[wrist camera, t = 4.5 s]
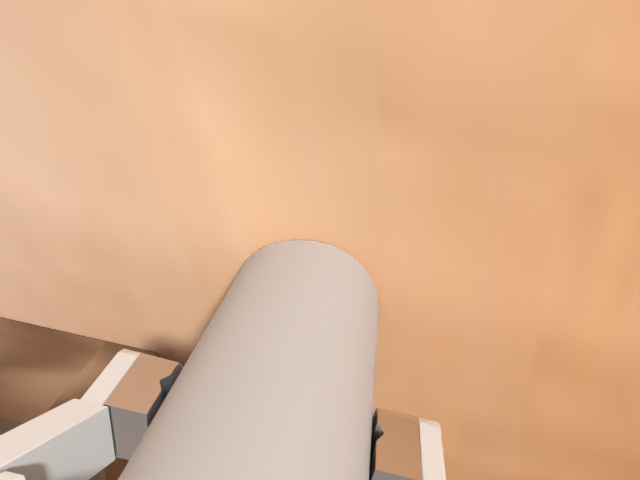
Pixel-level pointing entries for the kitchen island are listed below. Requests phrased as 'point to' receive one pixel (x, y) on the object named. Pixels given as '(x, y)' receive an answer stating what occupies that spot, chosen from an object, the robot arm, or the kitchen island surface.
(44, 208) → the kitchen island surface
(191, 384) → the beverage can
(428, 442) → the robot arm
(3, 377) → the walnut holder
